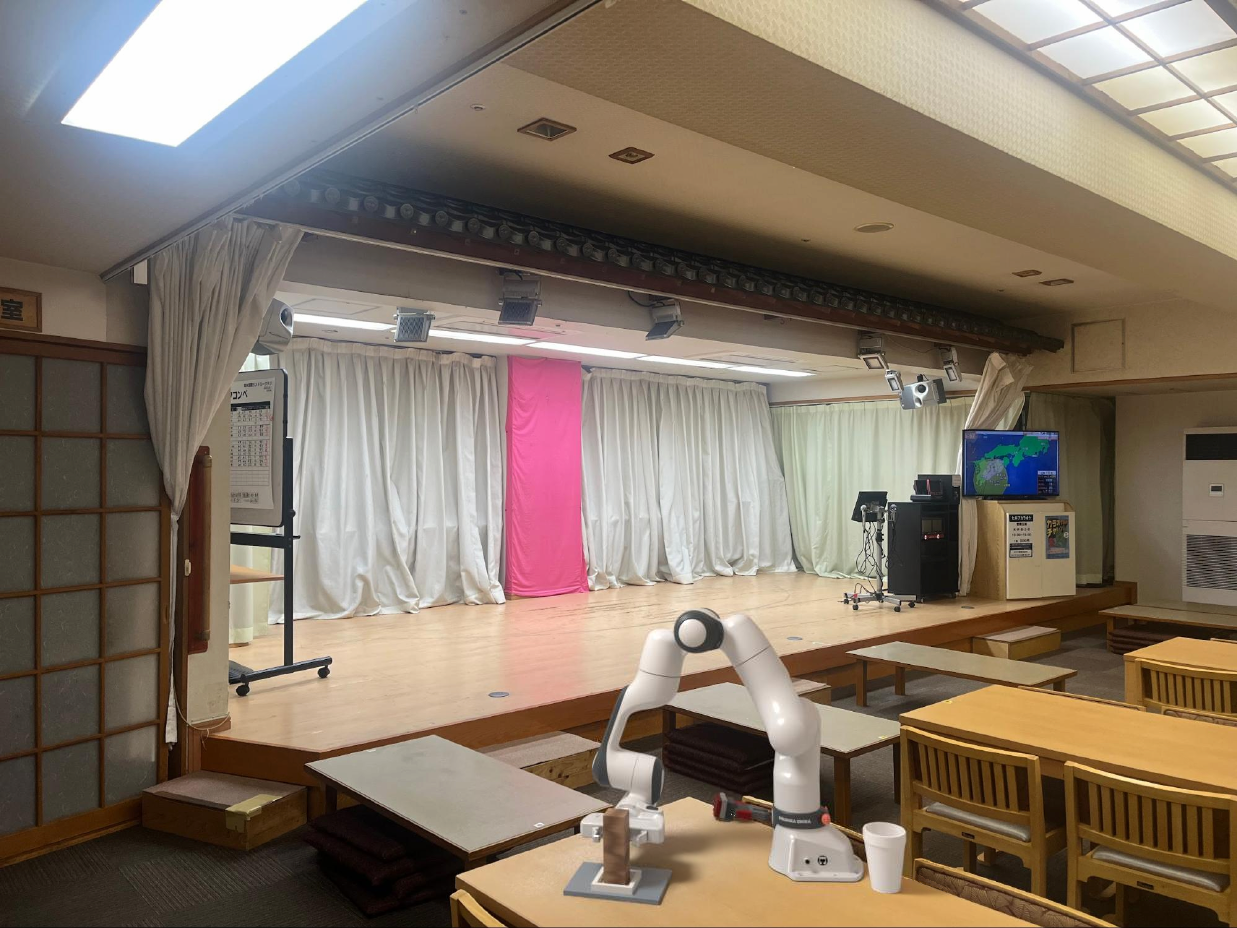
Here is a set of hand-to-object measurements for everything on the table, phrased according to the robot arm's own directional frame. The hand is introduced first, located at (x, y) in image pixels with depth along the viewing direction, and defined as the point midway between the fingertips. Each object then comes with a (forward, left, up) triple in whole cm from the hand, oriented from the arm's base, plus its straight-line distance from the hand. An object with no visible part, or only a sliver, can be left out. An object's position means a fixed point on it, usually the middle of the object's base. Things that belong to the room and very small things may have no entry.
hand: (615, 840), depth 197 cm
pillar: (0, -1, -10) cm, 10 cm away
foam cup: (-60, -15, -11) cm, 63 cm away
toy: (-23, -51, -11) cm, 57 cm away
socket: (0, -1, -11) cm, 11 cm away
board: (0, -3, -11) cm, 11 cm away
